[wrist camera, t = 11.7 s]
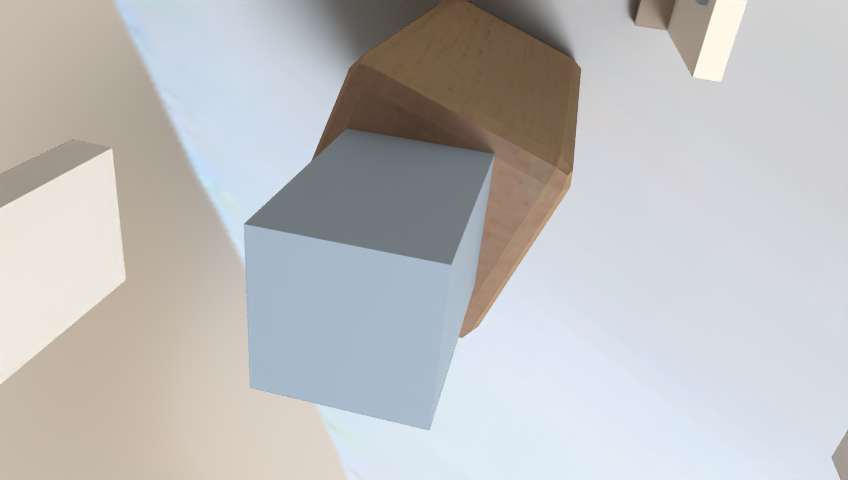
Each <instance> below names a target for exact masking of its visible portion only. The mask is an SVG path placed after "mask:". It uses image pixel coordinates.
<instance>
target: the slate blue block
mask: <svg viewBox="0 0 848 480" xmlns="http://www.w3.org/2000/svg"><path fill="white" fill-rule="evenodd" d="M494 156H495V154H493V153H487V152H481V151H476V150H470V149H464V148H458V147H452V146H446V145H440V144H434V143H429V142H423V141H417V140H411V139H405V138H399V137H393V136H387V135H381V134H376V133H370V132H364V131H358V130H352V129H346V130H345V131H344V132H343V133H341V134H340V135H339V136H338V137H337V138H336V139H335V140H334V141H333V142H332V143H331V144H330V145H329V146H328V147H326V148H325V149H324V150H323V151H322V152H321V153H320V154H319V155H318V156H317V157H316V158H315V159H314V160H312V161H311V162H310V163H309V164H308V165H307V166H306V167H305V168H304V169H303V170H302V171H301V172H300V173H298V174H297V175H296V176H295V177H294V178H293V179H292V180H291V181H290V182H289V183H288V184H287V185H286V186H284V187H283V188H282V189H281V190H280V191H279V192H278V193H277V194H276V195H275V196H274V197H273V198H272V199H270V200H269V201H268V202H267V203H266V204H265V205H264V206H263V207H262V208H261V209H260V210H259V211H258V212H256V213H255V214H254V215H253V216H252V217H251V218H250V219H249V220H248V221H247V222H246V223H245V224H244V239H245V266H246V292H247V319H248V345H249V371H250V372H249V373H250V388H253V389H257V390H261V391H266V392H270V393H274V394H278V395H282V396H287V397H291V398H295V399H299V400H303V401H308V402H312V403H316V404H320V405H324V406H329V407H333V408H337V409H341V410H345V411H350V412H354V413H358V414H362V415H366V416H371V417H375V418H379V419H383V420H387V421H392V422H396V423H400V424H404V425H409V426H413V427H417V428H421V429H425V430H430V427H431V424H432V420H433V417H434V414H435V411H436V407H437V404H438V401H439V398H440V395H441V391H442V388H443V385H444V382H445V379H446V375H447V372H448V369H449V366H450V362H451V359H452V356H453V353H454V350H455V346H456V343H457V340H458V337H459V333H460V330H461V327H462V324H463V321H464V317H465V314H466V311H467V308H468V305H469V301H470V298H471V295H472V292H473V288H474V285H475V279H476V273H477V266H478V260H479V253H480V247H481V240H482V234H483V227H484V221H485V214H486V208H487V201H488V195H489V189H490V182H491V176H492V169H493V163H494Z"/></svg>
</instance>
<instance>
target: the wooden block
mask: <svg viewBox="0 0 848 480" xmlns="http://www.w3.org/2000/svg"><path fill="white" fill-rule="evenodd" d="M580 74H581V68H580V67H579V66H578V64H577V63H576V62H575V60H574V59H572V58H570V57H568V56H567V55H565V54H563V53H561V52H559V51H558V50H556V49H554V48H552V47H550V46H548V45H547V44H545V43H543V42H541V41H539V40H537V39H536V38H534V37H532V36H530V35H528V34H526V33H525V32H523V31H521V30H519V29H517V28H515V27H514V26H512V25H510V24H508V23H506V22H504V21H503V20H501V19H499V18H497V17H495V16H493V15H492V14H490V13H488V12H486V11H484V10H483V9H481V8H479V7H477V6H475V5H473V4H472V3H470V2H468V1H466V0H444V1H443V2H441V3H440V4H438V5H437V6H435V7H434V8H432V9H431V10H429V11H428V12H426V13H425V14H423V15H422V16H420V17H419V18H418V19H416V20H415V21H413V22H412V23H410V24H409V25H407V26H406V27H404V28H403V29H401V30H400V31H398V32H397V33H395V34H394V35H392V36H391V37H389V38H388V39H387V40H385V41H384V42H382V43H381V44H379V45H378V46H376V47H375V48H373V49H372V50H370V51H369V52H367V53H366V54H364V55H363V56H362V57H361V58H360V59H359V60H358V61H357V62H355V63H354V64H353V65H352V66H351V67H350V68H349V71H348V73H347V76H346V78H345V81H344V83H343V85H342V88H341V90H340V93H339V95H338V98H337V100H336V103H335V105H334V107H333V110H332V112H331V115H330V117H329V120H328V122H327V124H326V127H325V129H324V132H323V134H322V137H321V139H320V142H319V144H318V146H317V149H316V151H315V154H314V156H313V159H312V160H314V159H315V158H316V157H317V156H318V155H319V154H320V153H321V152H322V151H323V150H324V149H325V148H326V147H328V146H329V145H330V144H331V143H332V142H333V141H334V140H335V139H336V138H337V137H338V136H339V135H340V134H341V133H343V132H344V131H345V130H346V129H352V130H358V131H364V132H370V133H376V134H381V135H387V136H393V137H399V138H405V139H411V140H417V141H423V142H429V143H434V144H440V145H446V146H452V147H458V148H464V149H470V150H476V151H481V152H487V153H493V154H495V156H494V163H493V169H492V176H491V182H490V189H489V195H488V201H487V208H486V214H485V221H484V227H483V234H482V240H481V247H480V253H479V260H478V266H477V273H476V279H475V285H474V288H473V292H472V295H471V298H470V301H469V305H468V308H467V311H466V314H465V317H464V321H463V324H462V327H461V330H460V333H459V337H460V338H463V337H464V336H465V335H467V334H468V333H469V332H471V331H472V330H474V329H475V328H477V327H478V326H479V324H480V323H481V321H482V320H483V318H484V317H485V315H486V314H487V312H488V311H489V309H490V308H491V306H492V305H493V303H494V302H495V300H496V299H497V297H498V295H499V294H500V292H501V291H502V289H503V288H504V286H505V285H506V283H507V282H508V280H509V279H510V277H511V276H512V274H513V273H514V271H515V270H516V268H517V267H518V265H519V264H520V262H521V261H522V259H523V258H524V256H525V255H526V253H527V252H528V250H529V249H530V247H531V246H532V244H533V242H534V241H535V239H536V238H537V236H538V235H539V233H540V232H541V230H542V229H543V227H544V226H545V224H546V223H547V221H548V220H549V218H550V217H551V215H552V214H553V212H554V211H555V209H556V208H557V206H558V205H559V203H560V202H561V200H562V199H563V197H564V196H565V194H566V193H567V191H568V190H569V188H570V183H571V177H572V171H573V161H574V148H575V136H576V124H577V111H578V99H579V86H580Z"/></svg>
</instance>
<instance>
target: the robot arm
mask: <svg viewBox="0 0 848 480" xmlns="http://www.w3.org/2000/svg"><path fill="white" fill-rule="evenodd" d="M125 280H126V277H125V268H124V258H123V248H122V239H121V230H120V220H119V210H118V201H117V192H116V182H115V172H114V163H113V153H112V148H110V147H105V146H101V145H96V144H92V143H87V142H83V141H78V140H74V139H72V140H70V141H68V142H66V143H64V144H62V145H60V146H57V147H55V148H53V149H51V150H49V151H47V152H45V153H43V154H41V155H39V156H37V157H34V158H32V159H30V160H28V161H26V162H24V163H22V164H20V165H18V166H16V167H14V168H11V169H10V170H7V171H5V172H3V173H1V174H0V384H1V383H2V382H4V381H5V380H6V379H7V378H8V377H10V376H11V375H12V374H13V373H14V372H16V371H17V370H18V369H19V368H20V367H21V366H23V365H24V364H25V363H26V362H28V361H29V360H30V359H31V358H32V357H34V356H35V355H36V354H37V353H38V352H39V351H41V350H42V349H43V348H44V347H46V346H47V345H48V344H49V343H50V342H51V341H53V340H54V339H55V338H56V337H58V336H59V335H60V334H61V333H62V332H64V331H65V330H66V329H67V328H68V327H70V326H71V325H72V324H73V323H74V322H76V321H77V320H78V319H79V318H80V317H81V316H83V315H84V314H85V313H86V312H88V311H89V310H90V309H91V308H92V307H94V306H95V305H96V304H97V303H98V302H100V301H101V300H102V299H103V298H104V297H105V296H107V295H108V294H109V293H110V292H112V291H113V290H114V289H115V288H116V287H118V286H119V285H120V284H121V283H122V282H124V281H125ZM832 460H833V462H834V465H835V467H836V469H837V472H838V474H839V477H840V479H841V480H848V431H847V432H846V434H845V436H844V437H843V439H842V441H841V442H840V444H839V446H838V447H837V449H836V451H835V452H834V454H833V456H832Z"/></svg>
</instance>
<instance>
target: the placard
mask: <svg viewBox="0 0 848 480" xmlns="http://www.w3.org/2000/svg"><path fill="white" fill-rule="evenodd" d="M747 1H748V0H640V1H639V5H638V9H637V13H636V17H635V21H634V24H635V26H642V27H648V28H654V29H661V30H667V31H668V33H669V35H670V37H671V39H672V40H673V42H674V44H675V46H676V48H677V50H678V51H679V53H680V55H681V57H682V59H683V60H684V62H685V64H686V66H687V68H688V70H689V71H690V73H691V75H692V77H695V78H701V79H707V80H713V81H719V82H721V79H722V76H723V73H724V70H725V67H726V64H727V61H728V58H729V55H730V52H731V49H732V46H733V43H734V40H735V37H736V34H737V31H738V28H739V25H740V22H741V19H742V16H743V13H744V10H745V7H746V4H747Z"/></svg>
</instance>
